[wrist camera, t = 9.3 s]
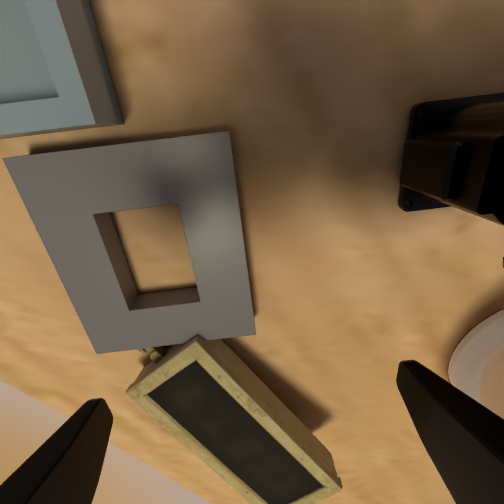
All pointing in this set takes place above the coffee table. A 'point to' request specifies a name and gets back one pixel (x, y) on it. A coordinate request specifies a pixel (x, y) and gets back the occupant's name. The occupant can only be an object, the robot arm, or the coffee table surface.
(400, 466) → the coffee table surface
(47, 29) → the parts tray
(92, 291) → the socket block
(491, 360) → the decorative vase
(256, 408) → the box
